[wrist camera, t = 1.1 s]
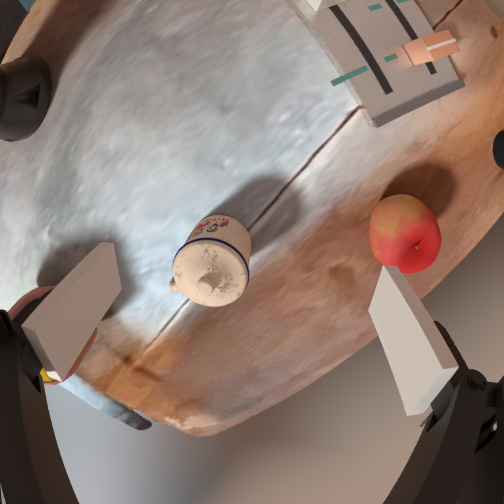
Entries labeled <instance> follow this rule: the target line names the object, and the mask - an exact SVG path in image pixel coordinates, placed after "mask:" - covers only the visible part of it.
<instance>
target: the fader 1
mask: <svg viewBox="0 0 504 504" xmlns="http://www.w3.org/2000/svg"><path fill="white" fill-rule="evenodd" d="M345 1H348V0H307V2H308V3H309V4H310V5H311V6H312V8H313V9H314V10H315V11H316V12H318V11H320V10H323V9H326V8H328V7H331V6H334V5H336V4H339V3H342V2H345Z"/></svg>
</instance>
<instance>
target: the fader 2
mask: <svg viewBox="0 0 504 504" xmlns="http://www.w3.org/2000/svg"><path fill="white" fill-rule="evenodd" d="M403 46H404V48H405V49H406V51H407V53H408V55H409V56H410V58H411V60H412V62H413V64H414V65H418V64H422V63H426V62H430V61H434V60H437V59H440V58H443V57H445V56H448V55H451V54H454V53H457V52H460V49H459V47H458V45H457V44H456V40H455V38H453V36H452V34H451V33H450V31H449V29H447V30H443V31H440V32H436V33H433V34H430V35H427V36H423V37H420V38H418V39H416V40H413V41H411V42H408V43H406V44H404V45H403Z"/></svg>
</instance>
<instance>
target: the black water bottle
mask: <svg viewBox="0 0 504 504" xmlns="http://www.w3.org/2000/svg"><path fill="white" fill-rule="evenodd" d="M493 155H494V159H495V161H496V163H497V165H498V166H499V167H501V168H502V169H504V131H502V132H499V133H498V134H497V135H496V137H495V139H494V143H493Z"/></svg>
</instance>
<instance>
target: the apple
mask: <svg viewBox="0 0 504 504" xmlns="http://www.w3.org/2000/svg"><path fill="white" fill-rule="evenodd" d="M369 241H370V246H371V249H372V251H373V254H374V255H375V257H376V259H377V260H378V261H379V262H380V263H381V264H382V265H390V266H397V267H398V269H399V270H400V272H402V273H416V272H419V271H422V270H424V269H426V268H428V267H429V266H430V265H431V264H432V263H433V262H434V261H435V259H436V257H437V255H438V253H439V250H440V246H441V233H440V229H439V226H438V223H437V221H436V219H435V217H434V215H433V214H432V212H431V211H430V210H429V209H428V207H427V206H426V205H424V204H423V203H422V202H421V201H420V200H418V199H417V198H415V197H412V196H409V195H405V194H398V195H393V196H390V197H387V198H385V199H383V200H382V201H380V202H379V203H378V204H377V205H376V206H375V207H374V209H373V211H372V214H371V218H370V223H369Z"/></svg>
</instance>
